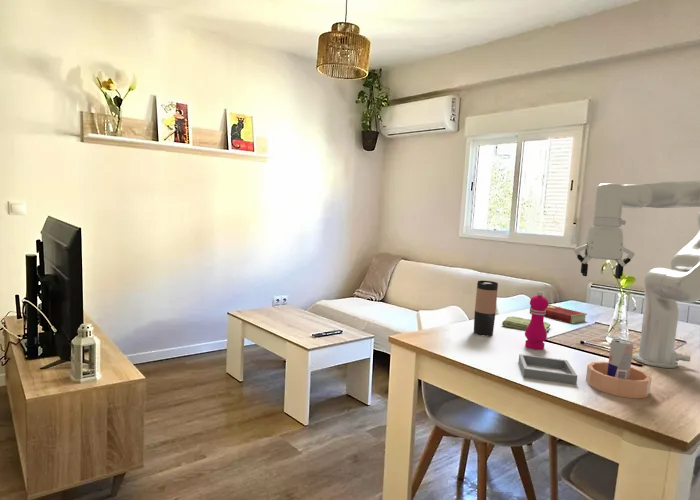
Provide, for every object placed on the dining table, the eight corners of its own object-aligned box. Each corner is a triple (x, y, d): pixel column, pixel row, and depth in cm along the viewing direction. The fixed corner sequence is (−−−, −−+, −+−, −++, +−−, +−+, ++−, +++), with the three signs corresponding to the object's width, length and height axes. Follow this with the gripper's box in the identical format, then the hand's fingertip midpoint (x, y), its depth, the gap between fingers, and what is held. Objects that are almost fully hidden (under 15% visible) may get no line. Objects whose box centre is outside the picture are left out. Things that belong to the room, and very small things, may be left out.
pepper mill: (547, 351, 159) (553, 294, 157) (525, 348, 161) (531, 292, 159) (543, 345, 166) (548, 290, 164) (522, 342, 168) (527, 288, 166)
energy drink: (608, 378, 133) (613, 337, 132) (629, 383, 130) (634, 341, 128) (604, 382, 129) (609, 340, 128) (626, 388, 125) (632, 345, 124)
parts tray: (566, 368, 143) (567, 360, 142) (576, 384, 129) (577, 375, 129) (518, 361, 146) (519, 354, 146) (523, 377, 132) (524, 368, 132)
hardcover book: (571, 324, 203) (572, 315, 203) (529, 313, 220) (530, 305, 220) (586, 322, 210) (587, 313, 209) (544, 311, 227) (545, 303, 227)
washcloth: (547, 335, 182) (548, 327, 182) (501, 327, 190) (501, 320, 190) (550, 328, 193) (551, 321, 193) (506, 321, 202) (507, 314, 201)
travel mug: (489, 331, 181) (494, 281, 179) (496, 336, 174) (501, 284, 172) (470, 330, 181) (474, 280, 179) (476, 335, 173) (480, 283, 171)
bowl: (637, 381, 135) (639, 366, 134) (657, 401, 120) (659, 385, 120) (581, 373, 138) (583, 359, 138) (594, 392, 124) (596, 376, 123)
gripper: (632, 224, 147) (626, 277, 148) (574, 221, 151) (568, 273, 152) (641, 225, 139) (635, 281, 141) (579, 221, 143) (574, 276, 145)
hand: (600, 277), depth 147 cm, fingers open, 9 cm apart
